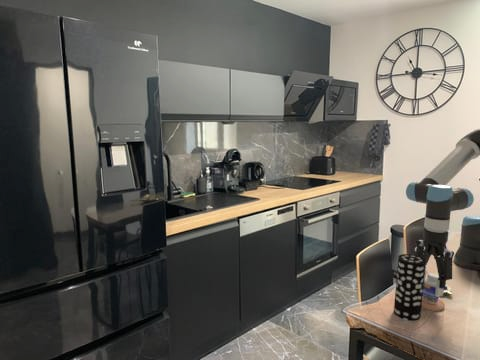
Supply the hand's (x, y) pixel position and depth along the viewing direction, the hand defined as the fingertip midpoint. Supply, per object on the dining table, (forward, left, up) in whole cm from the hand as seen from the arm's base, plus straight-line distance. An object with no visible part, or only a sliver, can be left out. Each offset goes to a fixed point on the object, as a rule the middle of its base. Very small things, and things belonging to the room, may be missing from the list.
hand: (429, 291), depth 125 cm
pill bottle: (0, 0, -4) cm, 4 cm away
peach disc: (0, 0, -5) cm, 5 cm away
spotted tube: (+13, +3, -5) cm, 14 cm away
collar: (-12, -7, -5) cm, 15 cm away
